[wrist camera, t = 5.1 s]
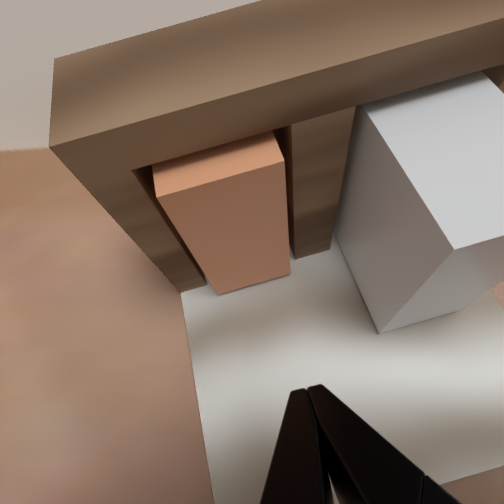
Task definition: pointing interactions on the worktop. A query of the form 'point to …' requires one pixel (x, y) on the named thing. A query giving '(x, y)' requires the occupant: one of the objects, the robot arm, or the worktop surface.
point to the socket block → (292, 218)
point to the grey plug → (425, 200)
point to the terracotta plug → (230, 209)
